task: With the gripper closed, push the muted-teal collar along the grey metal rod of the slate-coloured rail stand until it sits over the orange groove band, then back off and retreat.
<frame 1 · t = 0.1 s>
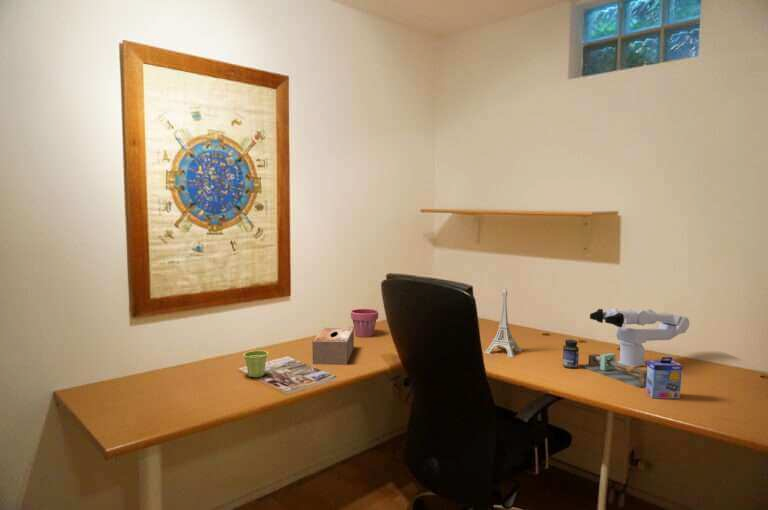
hand: (598, 318, 206), 22 cm above the table, tool horizontal, fingers open, 7 cm apart
collar: (607, 361, 206), point 4 cm above the table, slide at 0.0 cm
pill bottle: (570, 367, 213), on the table
rail stand: (617, 375, 202), on the table
ink cartridge box: (662, 396, 179), on the table
tissue box cover: (334, 356, 228), on the table
plant pot: (364, 335, 265), on the table
eiffel tower: (503, 352, 235), on the table
plant pot 2: (256, 375, 200), on the table
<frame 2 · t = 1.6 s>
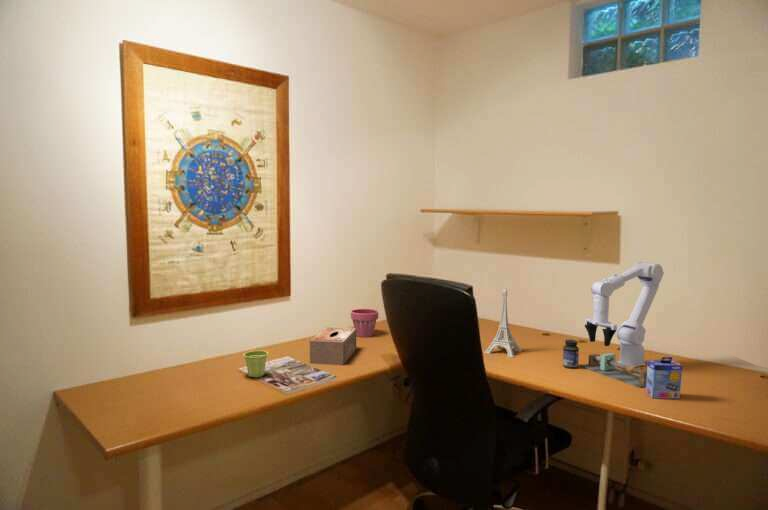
hand: (599, 343, 210), 10 cm above the table, tool pointing down, fingers open, 7 cm apart
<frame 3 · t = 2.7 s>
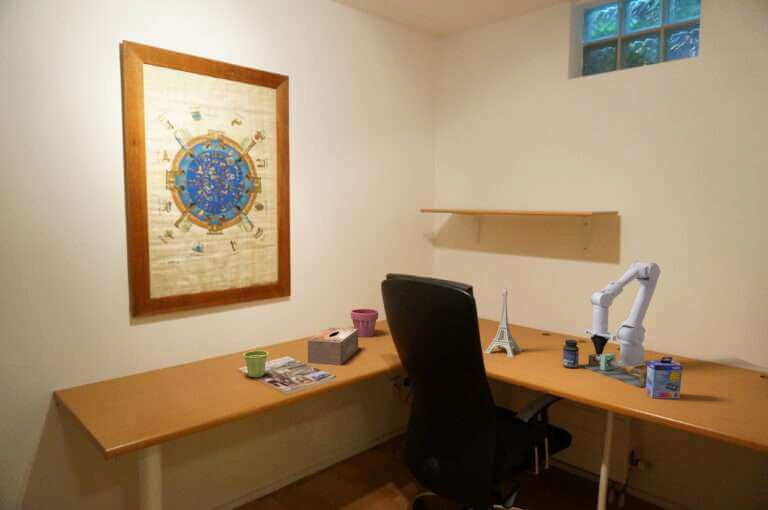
hand: (599, 354, 210), 6 cm above the table, tool pointing down, fingers closed
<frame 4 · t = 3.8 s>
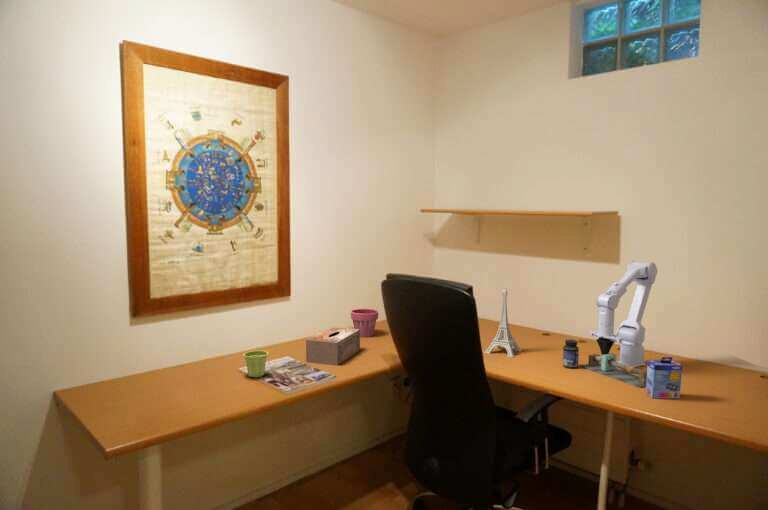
hand: (604, 356, 208), 6 cm above the table, tool pointing down, fingers closed
collar: (608, 362, 206), point 4 cm above the table, slide at 0.4 cm, touching gripper
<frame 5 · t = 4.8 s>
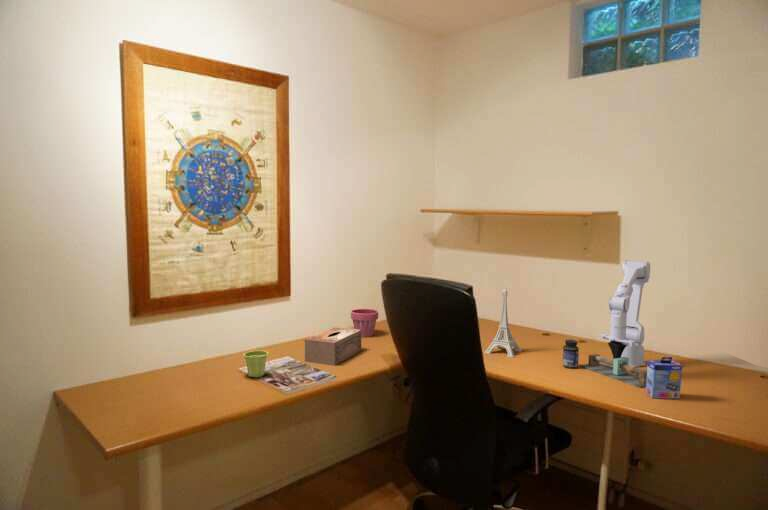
hand: (616, 360, 202), 6 cm above the table, tool pointing down, fingers closed
collar: (620, 365, 201), point 4 cm above the table, slide at 6.2 cm, touching gripper
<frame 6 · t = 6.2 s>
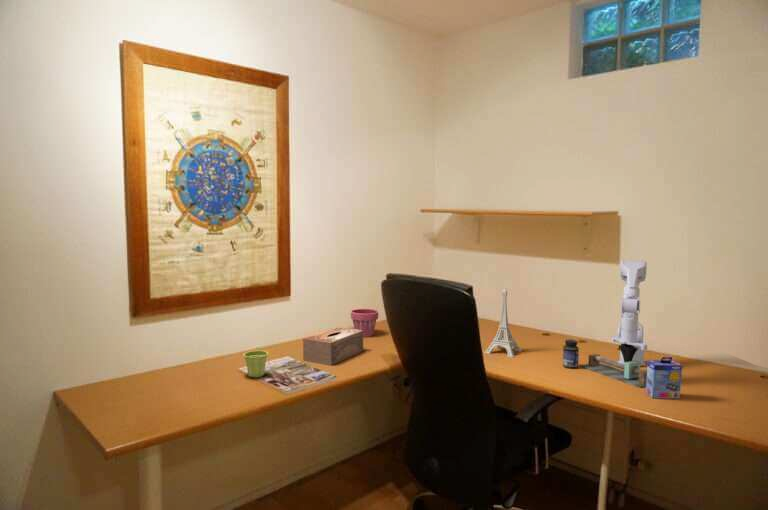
hand: (627, 363, 198), 6 cm above the table, tool pointing down, fingers closed
collar: (632, 369, 196), point 4 cm above the table, slide at 11.3 cm, touching gripper
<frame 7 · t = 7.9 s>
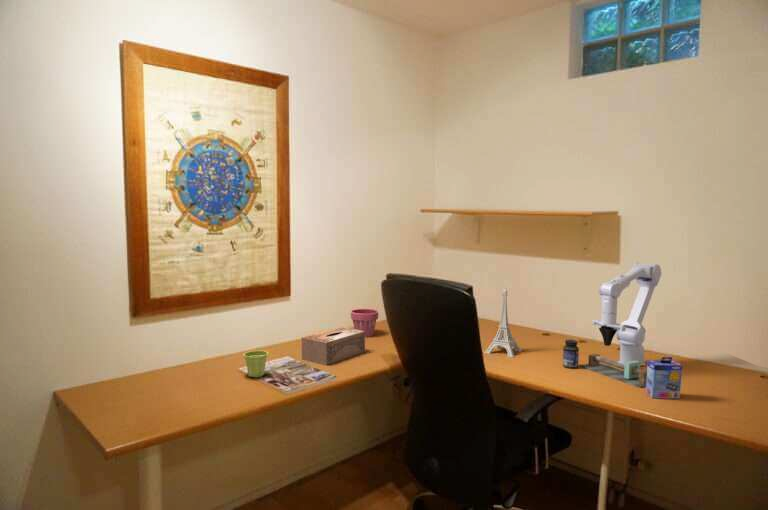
hand: (607, 345, 207), 10 cm above the table, tool pointing down, fingers closed
collar: (632, 369, 196), point 4 cm above the table, slide at 11.3 cm
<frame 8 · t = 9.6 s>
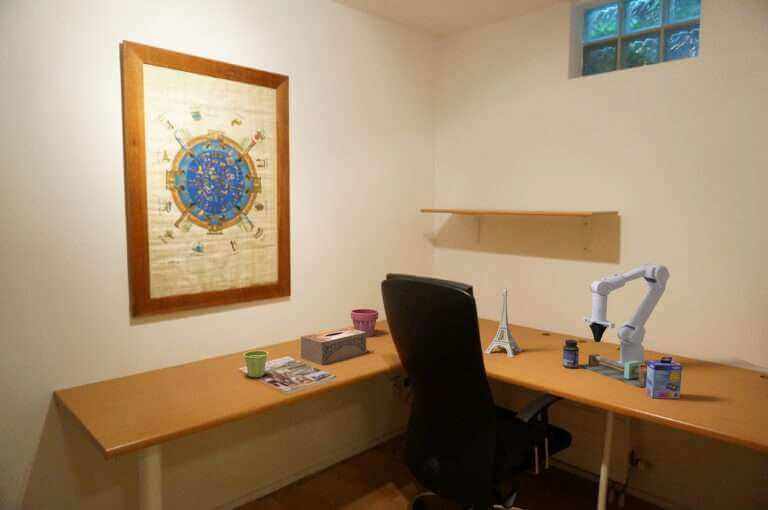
hand: (597, 341, 213), 10 cm above the table, tool pointing down, fingers closed
at the end: collar slide at 11.3 cm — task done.
